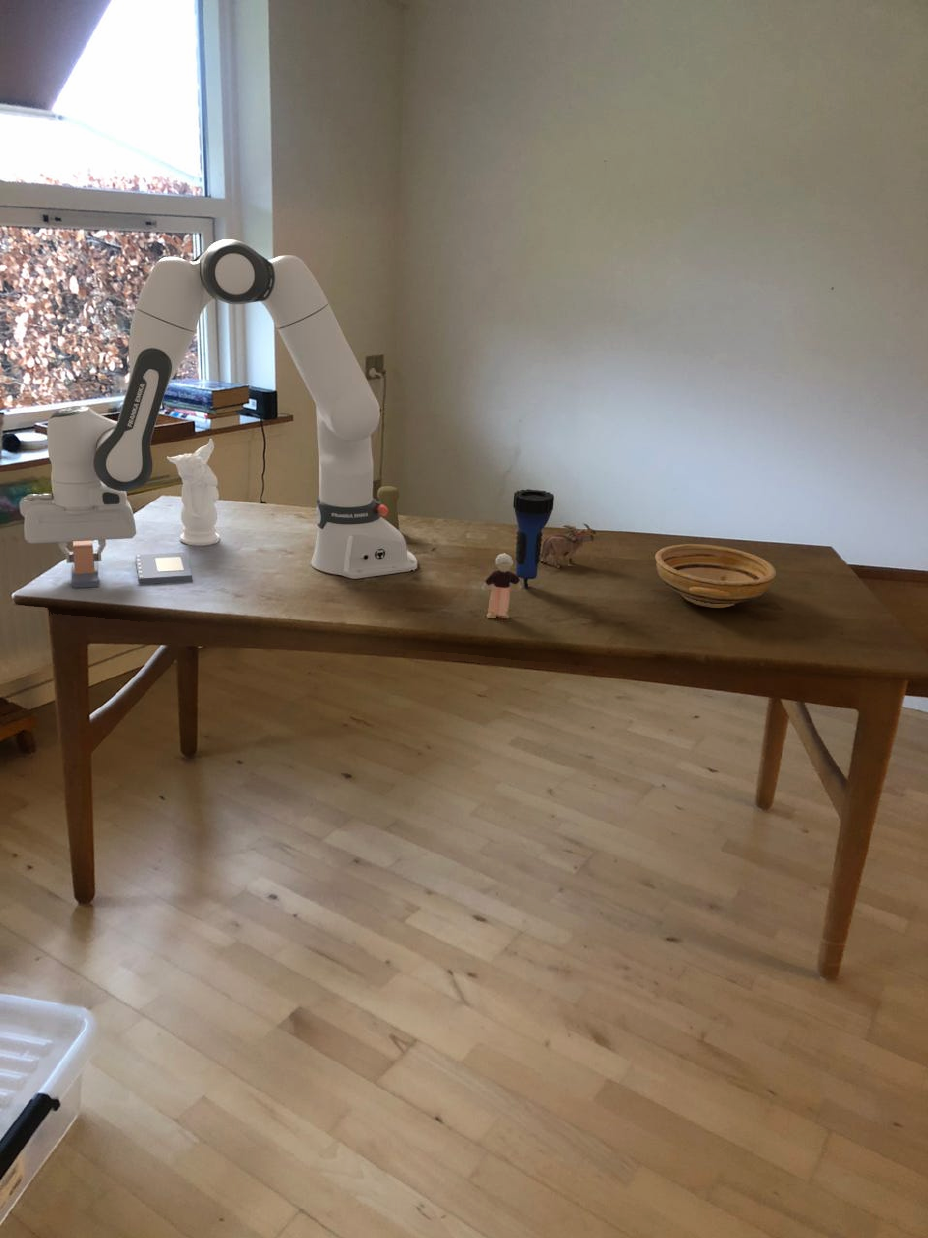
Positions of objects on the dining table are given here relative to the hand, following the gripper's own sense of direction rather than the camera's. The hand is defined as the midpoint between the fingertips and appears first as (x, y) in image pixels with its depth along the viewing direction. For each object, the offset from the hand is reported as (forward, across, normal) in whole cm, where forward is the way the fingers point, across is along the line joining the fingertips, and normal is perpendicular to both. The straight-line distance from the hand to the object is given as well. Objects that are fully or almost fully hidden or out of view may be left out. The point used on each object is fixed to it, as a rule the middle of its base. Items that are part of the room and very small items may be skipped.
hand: (84, 561), depth 188 cm
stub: (+3, 0, 0) cm, 3 cm away
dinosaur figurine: (+3, +99, -11) cm, 99 cm away
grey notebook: (+3, +15, 0) cm, 15 cm away
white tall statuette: (+3, +23, +20) cm, 30 cm away
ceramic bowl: (+3, +121, -37) cm, 126 cm away
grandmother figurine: (+3, +74, -37) cm, 83 cm away
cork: (+3, +67, +17) cm, 69 cm away
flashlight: (+3, +85, -24) cm, 88 cm away
